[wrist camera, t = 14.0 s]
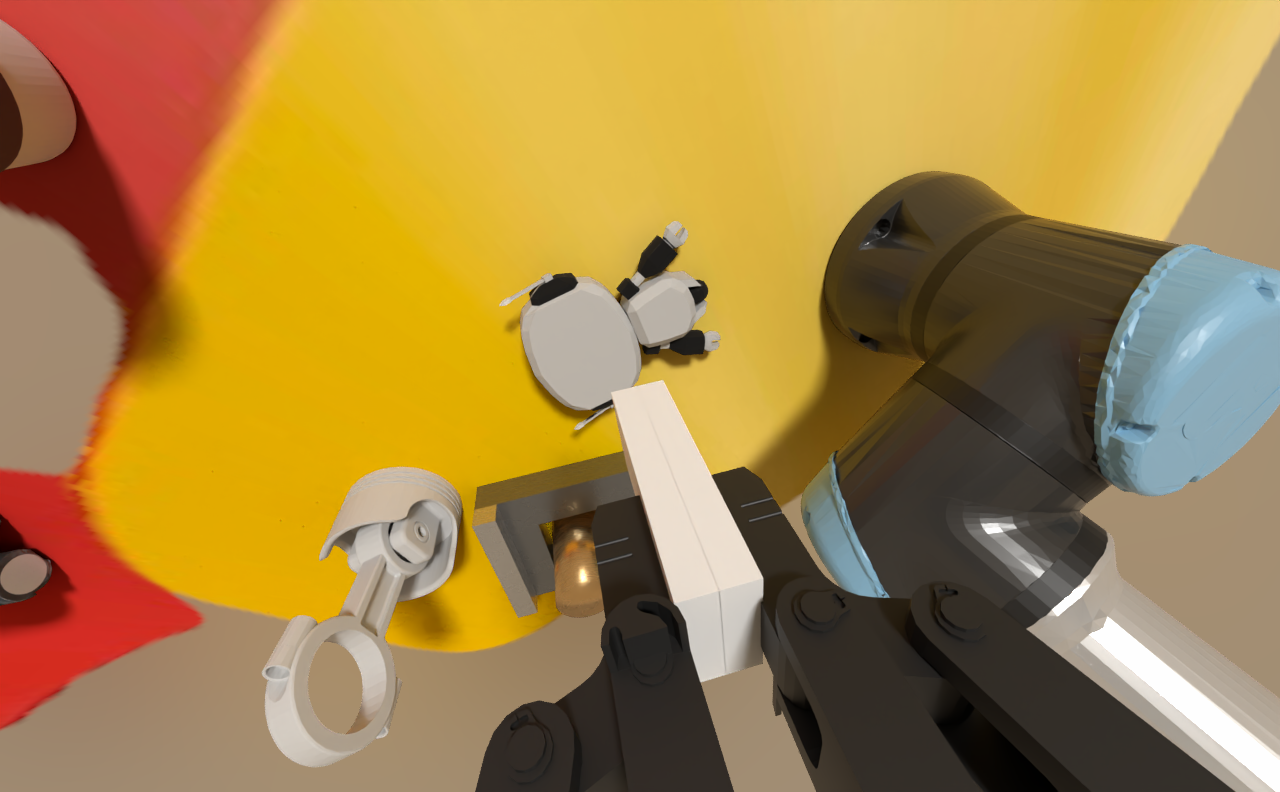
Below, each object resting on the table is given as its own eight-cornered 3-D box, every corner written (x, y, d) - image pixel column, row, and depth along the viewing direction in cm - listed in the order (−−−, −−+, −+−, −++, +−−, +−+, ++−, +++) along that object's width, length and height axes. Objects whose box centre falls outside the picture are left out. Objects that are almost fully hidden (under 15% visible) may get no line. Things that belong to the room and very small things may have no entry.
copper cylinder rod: (594, 492, 47) (608, 575, 39) (603, 525, 50) (617, 608, 42) (546, 504, 47) (549, 590, 38) (557, 536, 49) (563, 623, 41)
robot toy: (670, 203, 35) (491, 290, 34) (691, 213, 31) (491, 310, 31) (712, 336, 42) (564, 410, 41) (734, 357, 38) (571, 438, 37)
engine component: (397, 559, 46) (483, 515, 46) (323, 817, 29) (458, 754, 29) (311, 493, 40) (408, 442, 40) (154, 771, 23) (320, 690, 23)
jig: (639, 447, 45) (651, 481, 41) (656, 539, 53) (667, 576, 49) (477, 487, 44) (472, 526, 40) (519, 576, 51) (518, 617, 47)
